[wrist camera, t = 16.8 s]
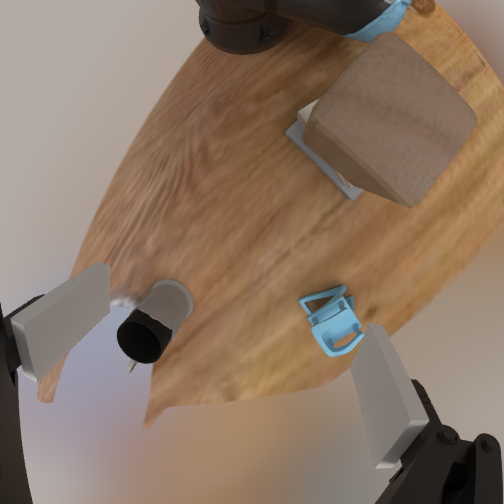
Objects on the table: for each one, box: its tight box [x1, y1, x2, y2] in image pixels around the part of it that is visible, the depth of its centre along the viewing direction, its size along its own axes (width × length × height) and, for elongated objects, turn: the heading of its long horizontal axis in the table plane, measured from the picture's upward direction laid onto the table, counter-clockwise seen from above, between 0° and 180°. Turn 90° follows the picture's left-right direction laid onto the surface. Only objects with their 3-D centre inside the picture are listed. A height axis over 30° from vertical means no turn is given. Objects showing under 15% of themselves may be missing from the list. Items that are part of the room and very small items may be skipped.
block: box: [301, 31, 478, 208], centre depth 27 cm, size 10×10×20 cm
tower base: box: [285, 120, 363, 201], centre depth 43 cm, size 14×14×5 cm
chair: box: [299, 285, 364, 357], centre depth 47 cm, size 8×8×12 cm
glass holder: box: [117, 279, 193, 373], centre depth 50 cm, size 9×14×15 cm, turn 150°
